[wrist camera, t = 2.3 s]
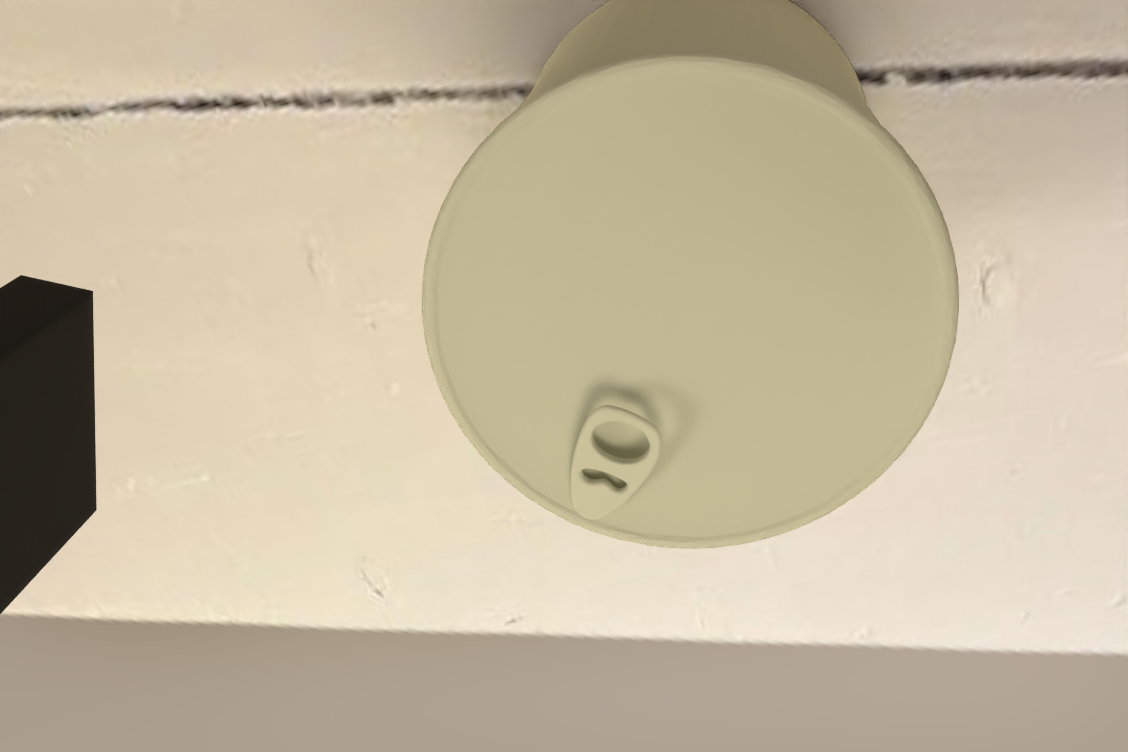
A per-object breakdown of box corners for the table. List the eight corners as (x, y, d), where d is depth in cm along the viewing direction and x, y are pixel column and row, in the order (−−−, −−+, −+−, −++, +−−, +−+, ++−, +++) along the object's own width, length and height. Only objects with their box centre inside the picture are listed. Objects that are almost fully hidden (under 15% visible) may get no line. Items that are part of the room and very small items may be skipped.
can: (474, 243, 30) (345, 453, 20) (598, -85, 26) (521, -47, 16) (771, 368, 31) (803, 638, 20) (938, 64, 27) (1090, 201, 16)
